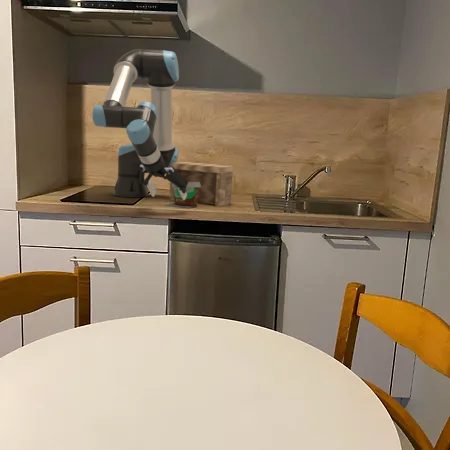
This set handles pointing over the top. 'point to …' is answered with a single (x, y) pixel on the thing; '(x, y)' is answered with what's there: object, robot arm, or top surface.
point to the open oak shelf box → (207, 181)
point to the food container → (191, 192)
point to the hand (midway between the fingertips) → (169, 195)
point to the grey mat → (178, 206)
